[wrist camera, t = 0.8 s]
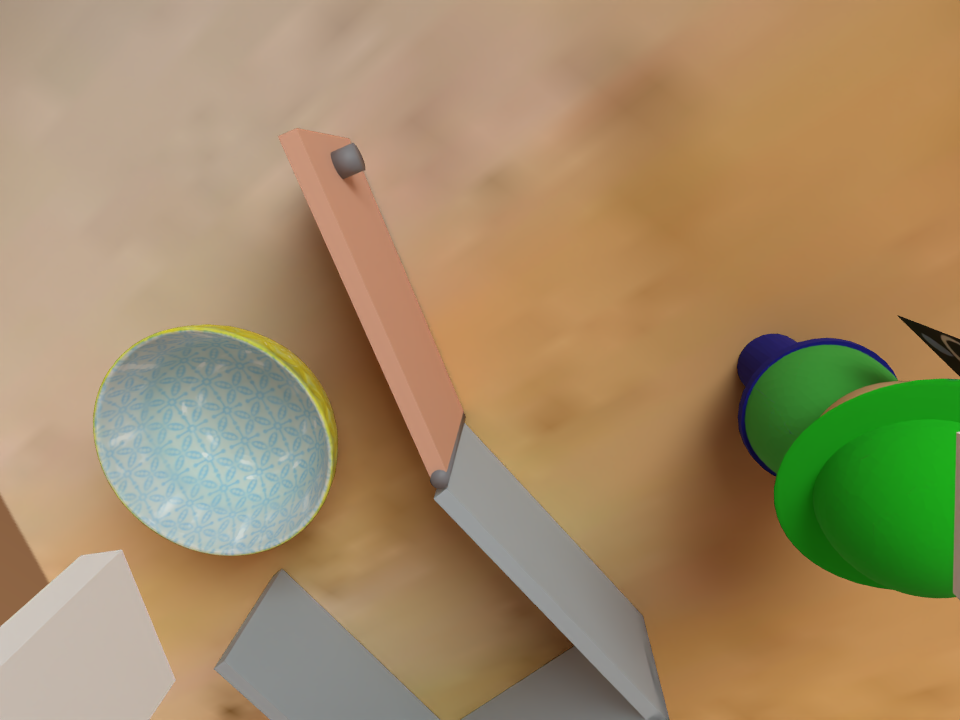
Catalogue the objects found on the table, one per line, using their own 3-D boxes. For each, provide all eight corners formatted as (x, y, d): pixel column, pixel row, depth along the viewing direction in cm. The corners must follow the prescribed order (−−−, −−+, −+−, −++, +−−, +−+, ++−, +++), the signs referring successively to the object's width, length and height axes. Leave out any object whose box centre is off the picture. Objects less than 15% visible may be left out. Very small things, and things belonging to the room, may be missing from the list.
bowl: (339, 286, 33) (297, 310, 27) (384, 484, 36) (355, 545, 30) (138, 316, 34) (56, 346, 28) (198, 505, 37) (135, 568, 31)
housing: (273, 575, 38) (213, 669, 31) (464, 422, 34) (447, 488, 27) (447, 741, 41) (429, 862, 34) (643, 616, 37) (670, 722, 30)
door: (367, 130, 30) (318, 117, 23) (484, 415, 34) (472, 478, 27) (334, 144, 31) (275, 136, 24) (454, 425, 34) (434, 490, 27)
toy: (912, 380, 32) (1225, 549, 18) (779, 493, 34) (960, 723, 20) (791, 264, 31) (1020, 342, 16) (661, 388, 33) (763, 552, 19)
